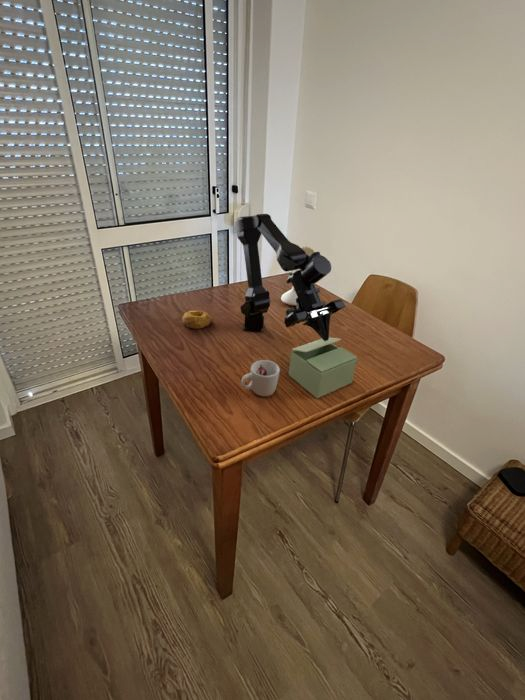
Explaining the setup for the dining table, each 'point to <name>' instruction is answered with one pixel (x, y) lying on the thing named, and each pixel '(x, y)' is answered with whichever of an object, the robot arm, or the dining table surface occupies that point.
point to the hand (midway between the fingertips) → (326, 340)
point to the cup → (262, 377)
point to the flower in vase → (291, 294)
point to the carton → (322, 369)
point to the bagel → (196, 319)
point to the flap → (315, 345)
